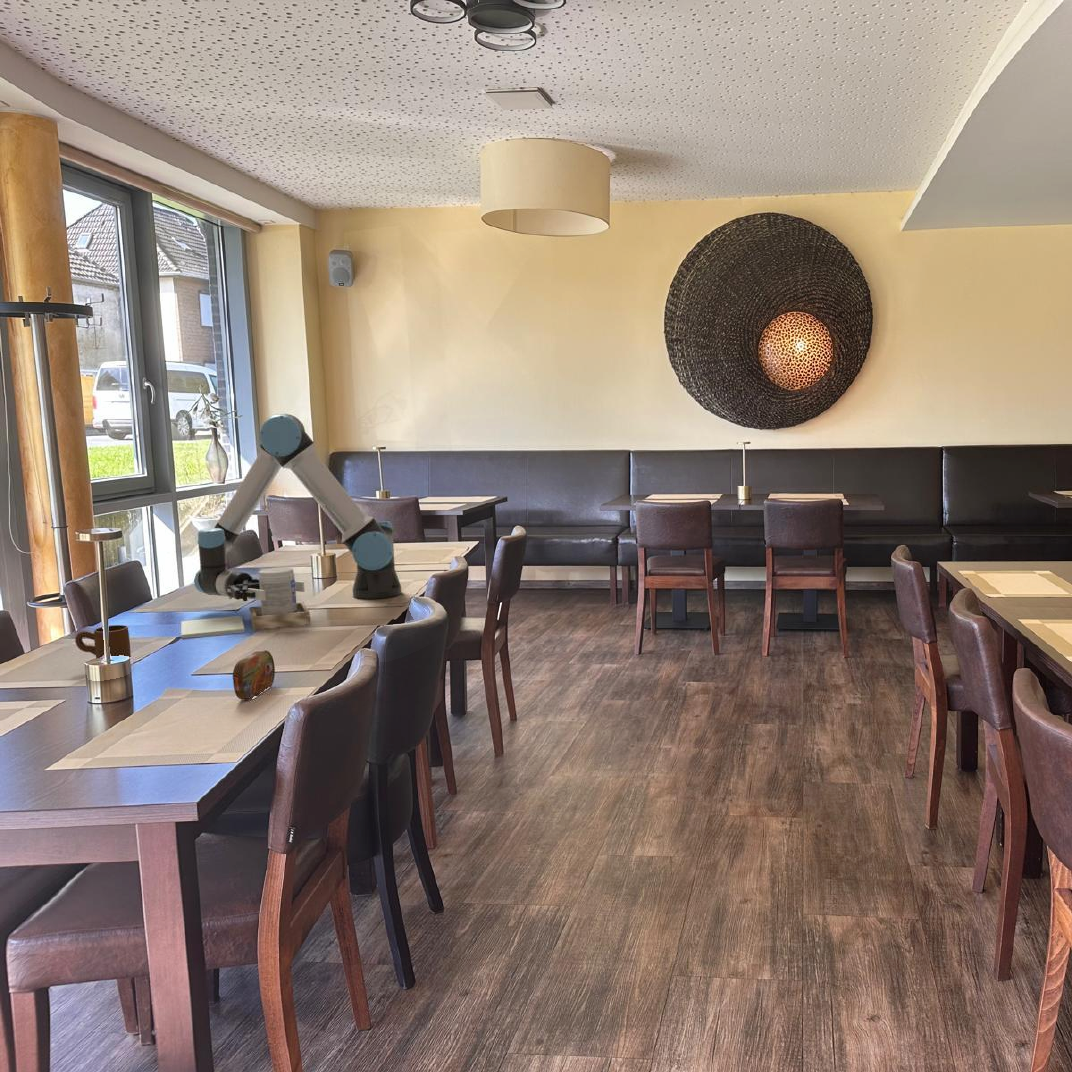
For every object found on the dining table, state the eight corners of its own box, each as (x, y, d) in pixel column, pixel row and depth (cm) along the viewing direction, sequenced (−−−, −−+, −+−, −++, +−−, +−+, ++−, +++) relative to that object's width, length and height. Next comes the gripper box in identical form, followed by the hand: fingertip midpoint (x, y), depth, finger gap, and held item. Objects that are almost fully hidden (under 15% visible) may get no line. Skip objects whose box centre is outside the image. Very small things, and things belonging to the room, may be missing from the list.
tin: (246, 704, 208) (243, 664, 207) (231, 704, 209) (228, 664, 207) (277, 684, 223) (274, 646, 222) (263, 683, 223) (261, 646, 222)
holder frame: (304, 614, 295) (303, 602, 295) (310, 624, 281) (309, 611, 281) (250, 619, 290) (249, 607, 290) (253, 630, 276) (252, 617, 276)
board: (241, 619, 291) (241, 615, 291) (244, 632, 274) (244, 628, 274) (181, 624, 286) (181, 621, 286) (181, 638, 269) (181, 634, 269)
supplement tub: (302, 622, 284) (299, 570, 282) (269, 627, 279) (265, 574, 277) (290, 616, 292) (286, 565, 290) (257, 621, 287) (253, 569, 285)
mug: (72, 674, 237) (69, 634, 236) (83, 665, 244) (79, 627, 243) (126, 670, 238) (123, 631, 237) (135, 662, 246) (132, 623, 244)
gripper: (271, 590, 306) (319, 596, 293) (199, 605, 286) (248, 613, 273) (269, 565, 305) (317, 570, 292) (197, 579, 285) (246, 585, 272)
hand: (284, 591), depth 283 cm, fingers open, 13 cm apart
